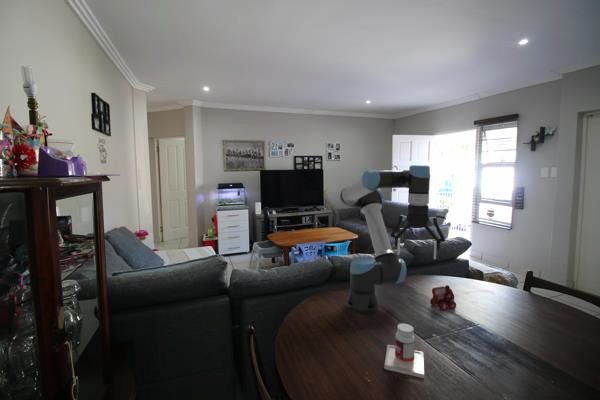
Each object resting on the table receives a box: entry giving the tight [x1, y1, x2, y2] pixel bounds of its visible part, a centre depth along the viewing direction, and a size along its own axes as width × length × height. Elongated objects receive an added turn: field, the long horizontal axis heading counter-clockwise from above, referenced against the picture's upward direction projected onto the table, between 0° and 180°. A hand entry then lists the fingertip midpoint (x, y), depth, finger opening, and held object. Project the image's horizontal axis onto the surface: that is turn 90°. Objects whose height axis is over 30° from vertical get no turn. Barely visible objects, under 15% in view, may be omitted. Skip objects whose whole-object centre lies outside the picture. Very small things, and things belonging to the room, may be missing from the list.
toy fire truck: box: [429, 284, 457, 312], centre depth 134 cm, size 7×12×10 cm, turn 108°
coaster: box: [383, 344, 425, 379], centre depth 96 cm, size 12×12×1 cm
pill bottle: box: [394, 323, 416, 364], centre depth 96 cm, size 6×6×11 cm
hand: (416, 256), depth 114 cm, fingers open, 13 cm apart
